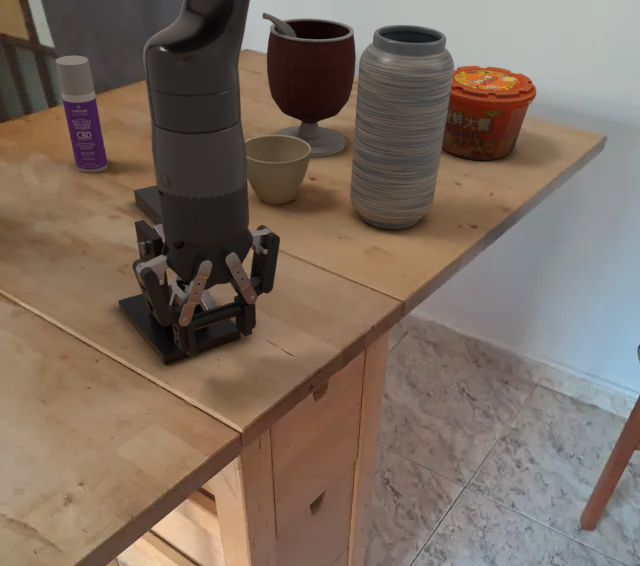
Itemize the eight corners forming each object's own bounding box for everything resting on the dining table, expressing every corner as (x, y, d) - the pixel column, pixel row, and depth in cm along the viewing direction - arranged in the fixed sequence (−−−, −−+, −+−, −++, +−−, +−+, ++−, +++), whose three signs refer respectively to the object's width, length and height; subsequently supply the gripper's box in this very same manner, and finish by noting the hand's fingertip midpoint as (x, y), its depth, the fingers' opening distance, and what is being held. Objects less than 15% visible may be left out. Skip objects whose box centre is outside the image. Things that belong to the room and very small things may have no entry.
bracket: (241, 338, 75) (236, 239, 66) (164, 365, 71) (149, 263, 63) (191, 287, 82) (181, 192, 74) (119, 309, 78) (100, 211, 70)
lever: (241, 320, 68) (244, 305, 66) (191, 337, 66) (193, 322, 64) (186, 233, 72) (188, 216, 70) (137, 246, 70) (137, 229, 68)
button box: (163, 231, 91) (159, 202, 89) (135, 205, 97) (131, 177, 94) (235, 212, 96) (234, 185, 93) (205, 188, 101) (203, 161, 99)
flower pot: (259, 177, 105) (257, 129, 100) (319, 190, 102) (321, 141, 98) (229, 204, 98) (226, 154, 93) (293, 218, 96) (294, 167, 91)
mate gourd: (319, 122, 123) (324, -7, 109) (366, 149, 115) (377, 12, 101) (244, 138, 116) (239, 2, 103) (288, 167, 108) (289, 24, 94)
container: (83, 175, 103) (61, 67, 93) (71, 164, 106) (49, 58, 96) (113, 168, 105) (94, 62, 95) (100, 158, 108) (81, 53, 98)
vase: (344, 230, 94) (357, 43, 78) (353, 193, 102) (366, 18, 86) (429, 238, 93) (459, 51, 77) (431, 201, 101) (458, 25, 85)
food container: (438, 123, 125) (448, 59, 117) (527, 137, 121) (543, 72, 114) (418, 155, 114) (428, 86, 106) (515, 171, 110) (532, 101, 103)
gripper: (254, 143, 62) (260, 303, 74) (101, 176, 56) (133, 345, 67) (299, 172, 58) (298, 338, 69) (138, 211, 51) (166, 386, 63)
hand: (216, 340), depth 68 cm, fingers closed on lever, 5 cm apart
